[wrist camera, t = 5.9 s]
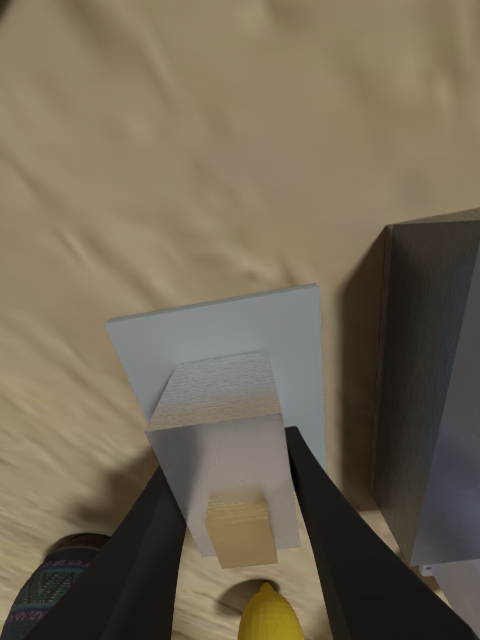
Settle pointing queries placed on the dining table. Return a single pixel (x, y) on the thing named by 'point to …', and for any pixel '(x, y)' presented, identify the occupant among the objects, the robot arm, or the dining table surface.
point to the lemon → (269, 618)
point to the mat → (234, 349)
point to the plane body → (430, 389)
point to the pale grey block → (228, 458)
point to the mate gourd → (50, 584)
